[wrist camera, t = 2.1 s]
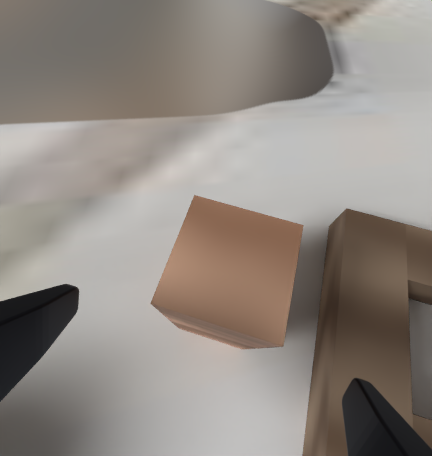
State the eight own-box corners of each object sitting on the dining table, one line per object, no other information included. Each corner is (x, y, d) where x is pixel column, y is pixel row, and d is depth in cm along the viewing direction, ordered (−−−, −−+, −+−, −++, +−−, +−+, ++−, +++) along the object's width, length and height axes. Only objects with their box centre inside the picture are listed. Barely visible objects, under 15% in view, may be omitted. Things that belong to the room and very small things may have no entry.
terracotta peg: (242, 349, 17) (283, 346, 8) (178, 328, 18) (150, 303, 9) (257, 284, 19) (303, 225, 10) (199, 267, 20) (194, 195, 11)
